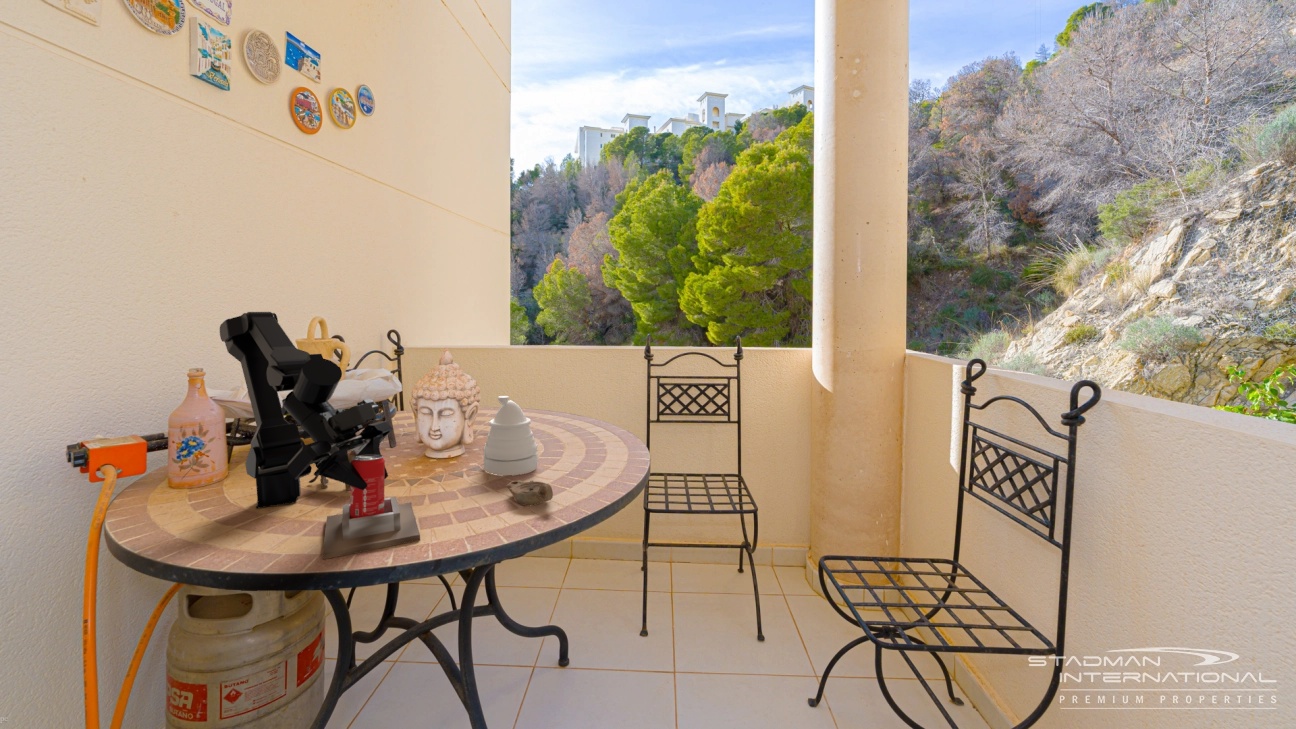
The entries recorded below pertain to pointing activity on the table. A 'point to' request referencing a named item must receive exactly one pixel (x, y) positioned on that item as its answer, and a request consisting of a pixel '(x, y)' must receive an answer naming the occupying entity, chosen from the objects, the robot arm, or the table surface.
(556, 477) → the table surface
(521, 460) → the honey pot
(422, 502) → the table surface
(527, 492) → the oil lamp
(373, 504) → the beverage can
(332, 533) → the can socket board
